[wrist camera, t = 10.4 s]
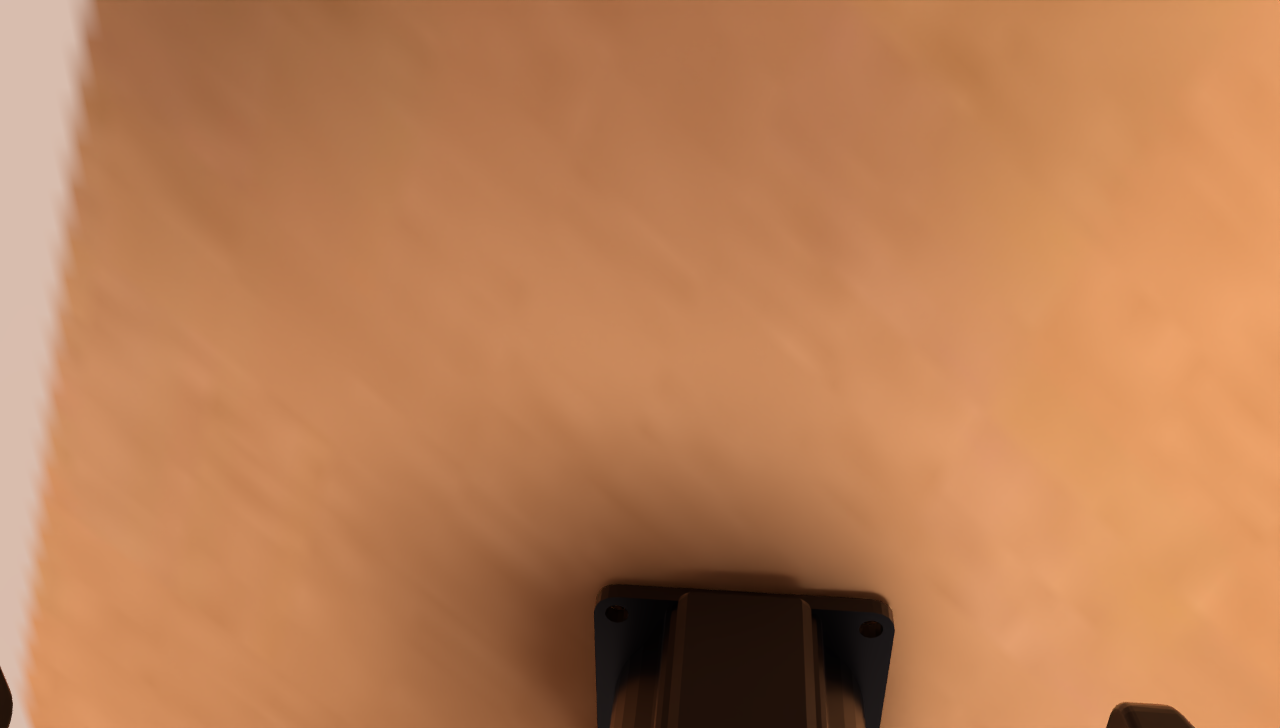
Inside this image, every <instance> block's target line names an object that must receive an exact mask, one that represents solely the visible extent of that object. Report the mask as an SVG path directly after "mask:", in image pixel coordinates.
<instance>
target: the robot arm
mask: <svg viewBox="0 0 1280 728" xmlns="http://www.w3.org/2000/svg"><path fill="white" fill-rule="evenodd" d="M615 605H618V606H621V607H623V608H625V609H620V610H618V609H614V608H612V607H611V606H615ZM866 621H875V622H877V623H876V624H871V625H867V624H863V623H864V622H866ZM594 628H595V660H596V691H597V723H598V728H880V722H881V715H882V709H883V702H884V696H885V690H886V683H887V677H888V670H889V664H890V658H891V651H892V645H893V638H894V632H895V629H894V621H893V613H892V610H891V609H890V607H889V606H888V605H887V604H885V603H883V602H882V601H878V600H873V599H859V598H842V597H825V596H808V595H791V594H774V593H757V592H740V591H723V590H706V589H689V588H672V587H656V586H639V585H622V584H616V585H609V586H606V587H604V588H602V589H601V590H600V591H599V593H598V594H597V598H596V604H595V610H594ZM12 708H13V702H12V695H11V691H10V689H9V686H8V684H7V682H6V679H5V677H4V674H3V672H2V670H1V667H0V728H8V727H9V724H10V721H11V716H12ZM1106 728H1195V727H1194V726H1193V725H1192V724H1191V723H1190V722H1189V721H1188V720H1187V719H1186V718H1185V717H1184V716H1183V715H1182V714H1181V713H1180V712H1179V711H1177V710H1176V709H1174V708H1173V707H1170V706H1168V705H1162V704H1147V703H1132V702H1123V703H1119V704H1118V705H1116V706H1115V708H1114V709H1113V710H1112V712H1111V715H1110V717H1109V721H1108V724H1107V727H1106Z"/></svg>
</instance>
